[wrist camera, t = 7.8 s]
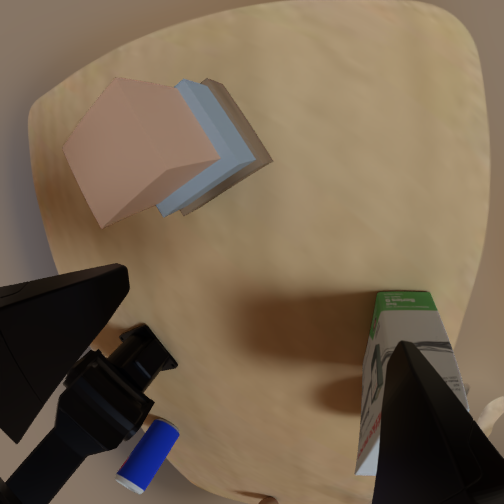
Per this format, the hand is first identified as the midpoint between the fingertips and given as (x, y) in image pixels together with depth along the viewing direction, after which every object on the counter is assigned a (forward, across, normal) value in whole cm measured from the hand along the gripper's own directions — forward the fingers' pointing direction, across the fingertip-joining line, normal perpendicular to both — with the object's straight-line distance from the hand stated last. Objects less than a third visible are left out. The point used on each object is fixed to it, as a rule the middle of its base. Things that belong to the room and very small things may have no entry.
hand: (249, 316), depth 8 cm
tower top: (+10, +8, -4) cm, 13 cm away
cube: (+7, +8, -4) cm, 11 cm away
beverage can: (+13, +15, +41) cm, 46 cm away
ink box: (+13, -10, +9) cm, 19 cm away
